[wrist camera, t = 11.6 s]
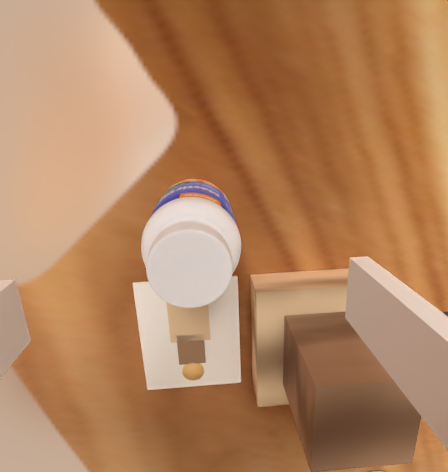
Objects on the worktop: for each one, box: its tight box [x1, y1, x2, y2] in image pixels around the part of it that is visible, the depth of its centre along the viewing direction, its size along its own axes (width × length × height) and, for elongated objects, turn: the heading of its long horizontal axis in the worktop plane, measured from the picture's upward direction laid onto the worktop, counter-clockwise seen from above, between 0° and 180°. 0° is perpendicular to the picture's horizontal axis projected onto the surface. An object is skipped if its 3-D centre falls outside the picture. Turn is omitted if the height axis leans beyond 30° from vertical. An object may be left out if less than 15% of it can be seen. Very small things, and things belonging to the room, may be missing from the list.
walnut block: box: [283, 312, 421, 472], centre depth 22 cm, size 6×6×7 cm
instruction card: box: [133, 276, 241, 390], centre depth 28 cm, size 10×8×1 cm
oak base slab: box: [250, 268, 349, 407], centre depth 27 cm, size 10×10×3 cm
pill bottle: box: [141, 179, 241, 308], centre depth 20 cm, size 5×5×10 cm
